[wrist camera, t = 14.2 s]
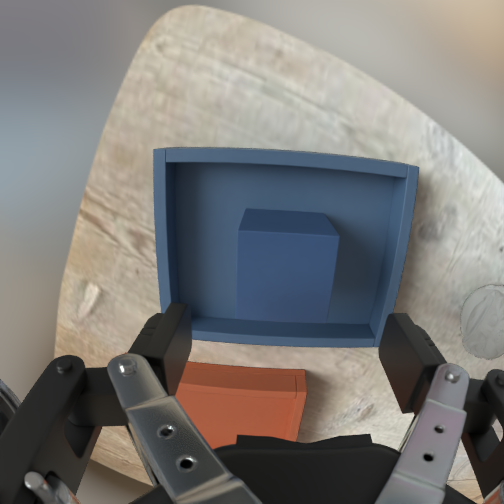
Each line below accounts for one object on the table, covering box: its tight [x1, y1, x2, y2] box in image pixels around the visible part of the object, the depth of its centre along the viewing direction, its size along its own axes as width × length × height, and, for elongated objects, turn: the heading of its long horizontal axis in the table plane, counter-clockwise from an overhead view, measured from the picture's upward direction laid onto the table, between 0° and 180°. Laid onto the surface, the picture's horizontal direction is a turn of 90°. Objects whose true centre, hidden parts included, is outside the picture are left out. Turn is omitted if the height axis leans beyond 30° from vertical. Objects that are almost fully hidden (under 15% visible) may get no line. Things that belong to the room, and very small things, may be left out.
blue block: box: [235, 209, 340, 324], centre depth 19 cm, size 5×5×5 cm
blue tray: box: [153, 147, 419, 348], centre depth 20 cm, size 16×13×3 cm
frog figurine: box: [460, 285, 504, 360], centre depth 19 cm, size 6×7×7 cm
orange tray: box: [125, 353, 307, 449], centre depth 26 cm, size 16×13×3 cm
